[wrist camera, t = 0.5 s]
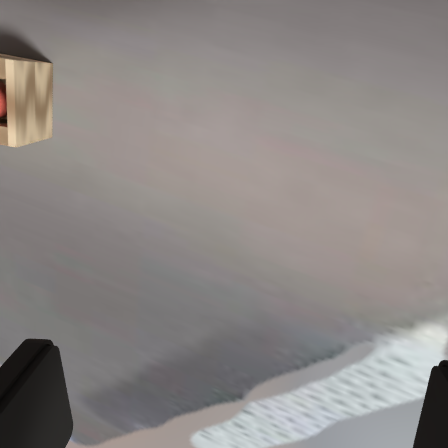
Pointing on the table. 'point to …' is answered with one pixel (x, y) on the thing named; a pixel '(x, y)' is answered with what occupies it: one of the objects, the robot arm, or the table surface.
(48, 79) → the wooden box
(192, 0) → the table surface
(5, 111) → the button
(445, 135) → the table surface
